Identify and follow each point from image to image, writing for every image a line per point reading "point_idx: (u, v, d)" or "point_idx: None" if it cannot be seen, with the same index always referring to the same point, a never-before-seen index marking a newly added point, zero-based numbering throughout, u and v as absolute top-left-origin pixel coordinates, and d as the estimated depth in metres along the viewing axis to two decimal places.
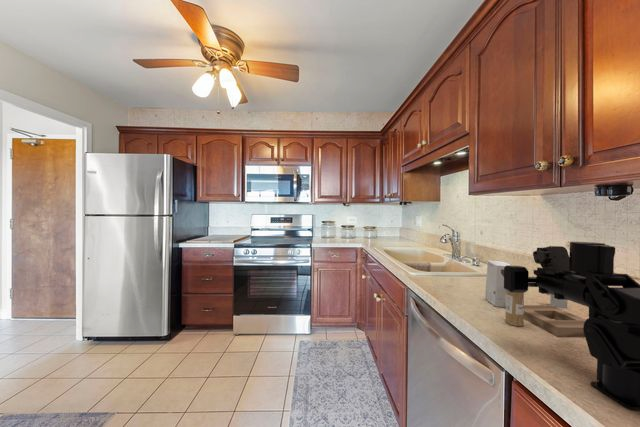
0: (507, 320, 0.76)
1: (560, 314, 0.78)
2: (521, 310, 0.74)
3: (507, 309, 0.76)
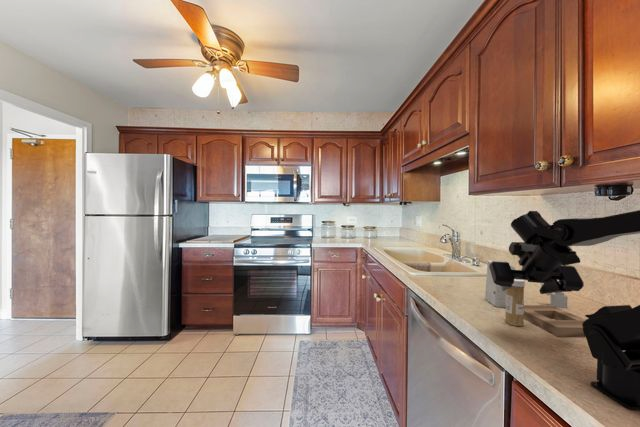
0: (507, 320, 0.76)
1: (560, 314, 0.78)
2: (521, 310, 0.74)
3: (507, 309, 0.76)
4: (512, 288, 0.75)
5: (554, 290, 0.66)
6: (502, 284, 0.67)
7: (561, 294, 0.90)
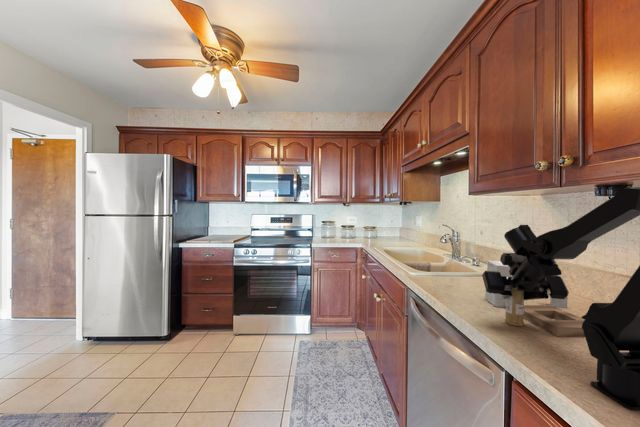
0: (507, 320, 0.76)
1: (560, 314, 0.78)
2: (521, 310, 0.74)
3: (507, 309, 0.76)
4: None
5: (532, 297, 0.72)
6: (494, 292, 0.72)
7: None
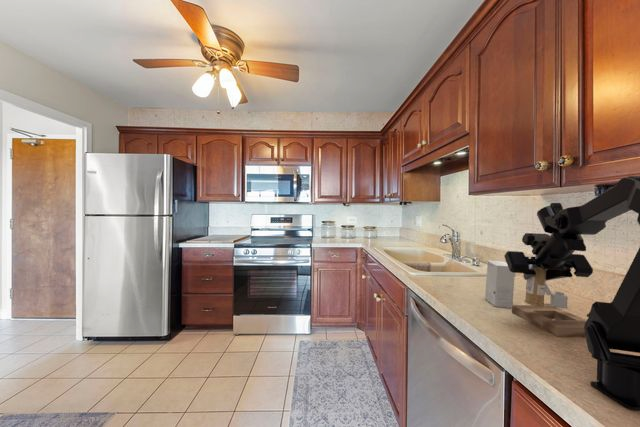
0: (527, 301, 0.77)
1: (560, 314, 0.78)
2: (543, 291, 0.75)
3: (528, 290, 0.76)
4: (535, 269, 0.75)
5: (555, 276, 0.72)
6: (517, 272, 0.72)
7: (561, 294, 0.90)
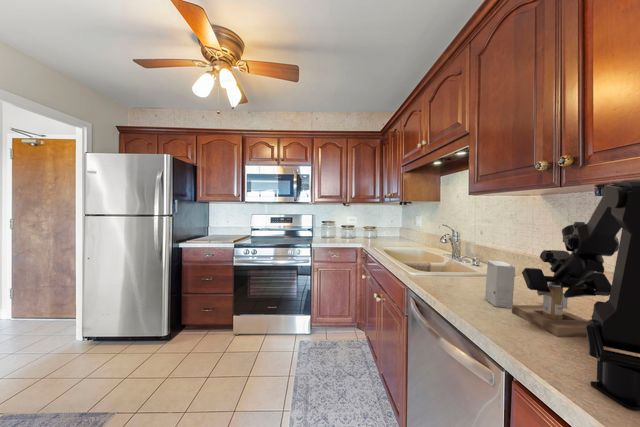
0: None
1: None
2: (560, 310, 0.75)
3: (545, 309, 0.77)
4: (551, 288, 0.75)
5: (579, 294, 0.72)
6: (536, 289, 0.73)
7: None
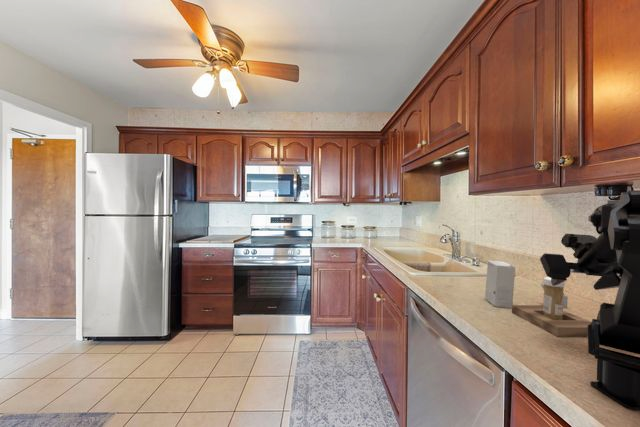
0: None
1: None
2: (561, 310, 0.74)
3: (545, 309, 0.77)
4: (551, 288, 0.75)
5: (613, 285, 0.62)
6: (556, 277, 0.64)
7: None
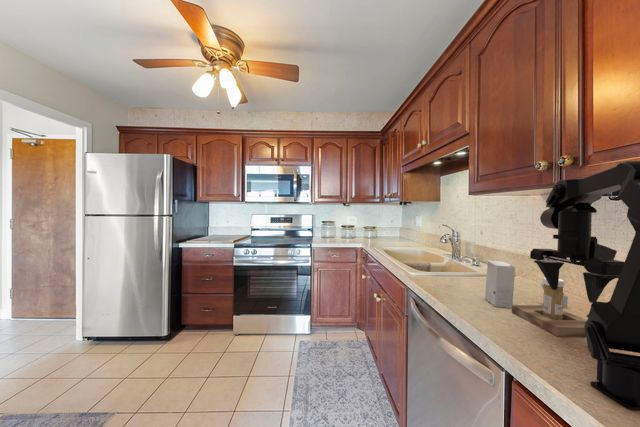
0: None
1: None
2: (560, 310, 0.75)
3: (545, 309, 0.77)
4: None
5: None
6: (534, 258, 0.70)
7: None
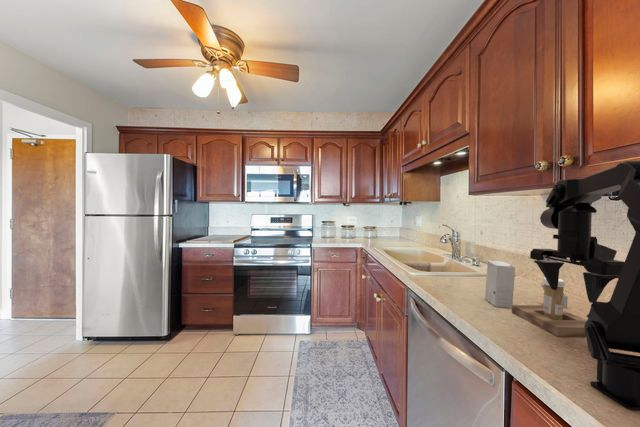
0: None
1: None
2: (560, 310, 0.74)
3: (545, 309, 0.77)
4: None
5: None
6: (534, 258, 0.70)
7: None
